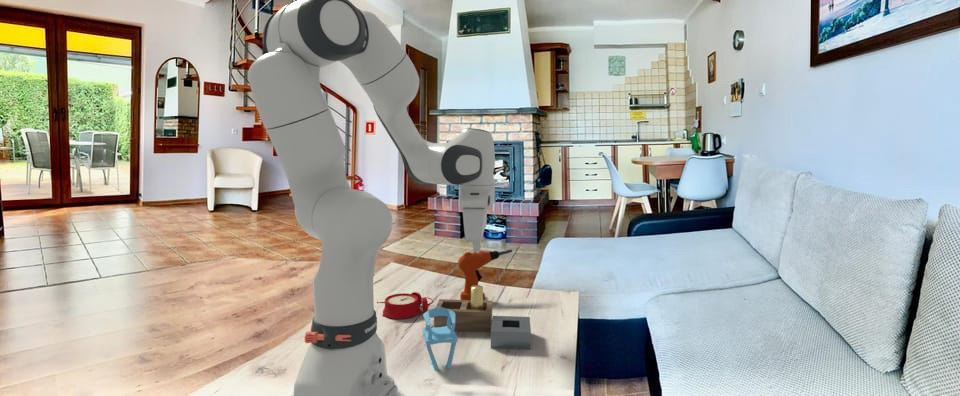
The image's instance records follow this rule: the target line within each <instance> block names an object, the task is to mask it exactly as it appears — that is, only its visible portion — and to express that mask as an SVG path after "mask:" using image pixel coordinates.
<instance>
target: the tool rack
mask: <svg viewBox="0 0 960 396" xmlns="http://www.w3.org/2000/svg"><path fill="white" fill-rule="evenodd" d="M436 307H443V308H446V309H449V310H451V311H453V312H455V328H454V332H473V333H474V332H475V333H491V326H492V318H493V300H483V310H471V300H461V299H447V298H446V299H445V298H444V299H443V298H441V299H438V301H437V304H436V306H435V308H436ZM447 320H448V316H434V317H433V324H434V325H433V328H437V327H444V326H447ZM451 326H452V321H451Z"/></svg>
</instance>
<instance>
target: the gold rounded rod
mask: <svg viewBox="0 0 960 396" xmlns="http://www.w3.org/2000/svg"><path fill="white" fill-rule="evenodd" d="M483 292H484V287H483V285H480V284H478V285H474V286H471V310H483V301H484V299H483Z"/></svg>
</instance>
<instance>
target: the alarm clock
mask: <svg viewBox="0 0 960 396" xmlns="http://www.w3.org/2000/svg"><path fill="white" fill-rule="evenodd" d="M428 299H429V300H431V301H432V302H428ZM434 302H435V301H434V299H433V298H431V297H429V296H428V297H427V296H425V297H422V295H421V293H419V292H418V291H417V292H416V291H413V292H412V293H405V292H404V293H394V294H390V295H388V296H387V297H385V299H384V301H376V304H384V308H383V309H382V317H385V318H388V319H393V320H394V319H395V320H403V319H410V318H411V319H412V318H413V317H416V316H419V315H420V313H421V307H422V314H424V313H425V312H427V311H429V310H428V308H429V306H430V305H431V304H433V303H434Z"/></svg>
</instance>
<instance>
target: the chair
mask: <svg viewBox="0 0 960 396" xmlns="http://www.w3.org/2000/svg"><path fill="white" fill-rule="evenodd" d="M422 316H423V319H424V322H425V327H423V329H422V333H423V336H424V337H423V338H424V341H425V345H426V349H427V351H428V352H427V353H428V356H429V358H430V361H431V362H430V364H431V366H432V368H433V370H434V371H439V368H440V367H439V366H438V363H437V361H436V358H435V354H434V352H433V350H432V346H431V345H436V344H444V343H451V344H450V348H449V354H448V358H447V362H446V366H445V368H446V370H450V369H452V363H453V359H454V354H455V350H456V345H457V342H458V336H457V334H456V331H454V328H455V312H453V311H451V310H449V309H446V308H443V307H436V306H435V307H433V308H431V309H429V310H427V312H425V313H422ZM434 316H448V320H447V326H444V327H437V328H434V327H431V318H432V317H433V318H434ZM451 321H452V326H451Z"/></svg>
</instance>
